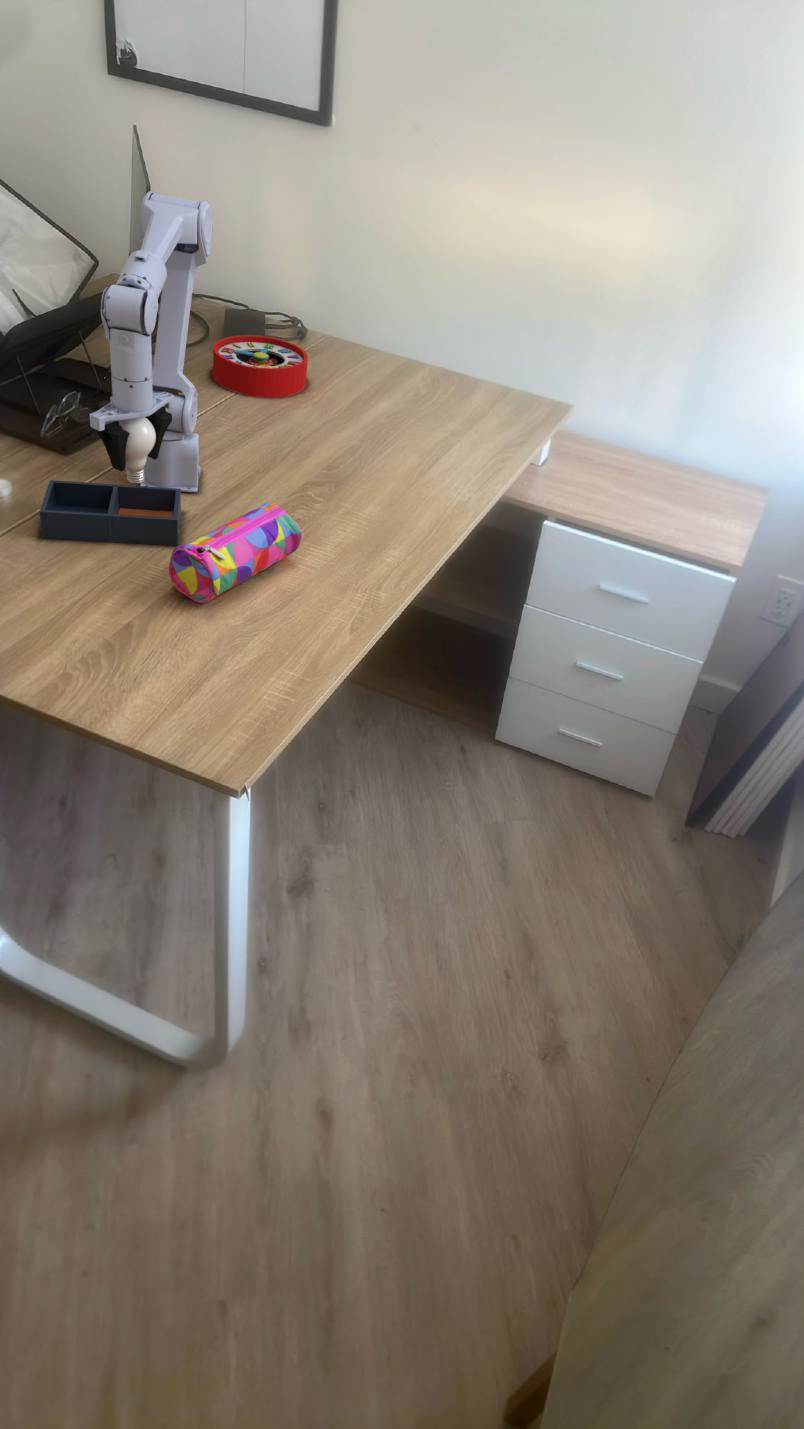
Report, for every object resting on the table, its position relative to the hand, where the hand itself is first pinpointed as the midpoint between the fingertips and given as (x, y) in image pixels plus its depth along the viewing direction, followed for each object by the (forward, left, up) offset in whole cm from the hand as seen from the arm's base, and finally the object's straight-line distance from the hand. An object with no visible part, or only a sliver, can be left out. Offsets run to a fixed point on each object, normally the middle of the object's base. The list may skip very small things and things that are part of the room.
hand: (135, 462), depth 145 cm
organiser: (+3, +1, -10) cm, 11 cm away
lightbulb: (0, 0, -4) cm, 4 cm away
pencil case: (-16, +15, -10) cm, 24 cm away
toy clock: (-21, -66, -10) cm, 70 cm away
